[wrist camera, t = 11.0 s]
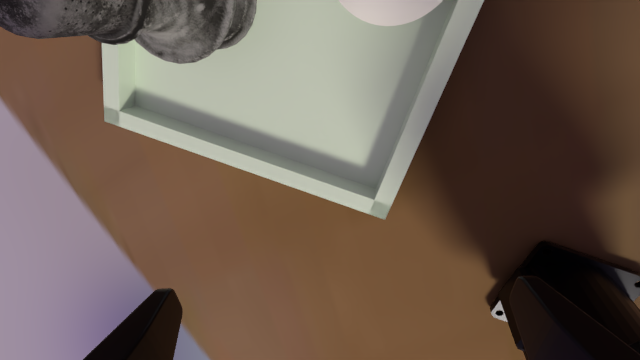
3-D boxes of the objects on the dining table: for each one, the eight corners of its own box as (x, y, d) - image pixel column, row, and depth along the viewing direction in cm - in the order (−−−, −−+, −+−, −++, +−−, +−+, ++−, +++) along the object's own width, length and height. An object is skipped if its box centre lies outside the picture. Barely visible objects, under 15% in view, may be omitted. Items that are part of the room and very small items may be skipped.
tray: (524, -111, 14) (542, -129, 12) (386, 202, 22) (384, 219, 20) (126, -226, 15) (90, -257, 13) (127, 112, 23) (104, 121, 21)
